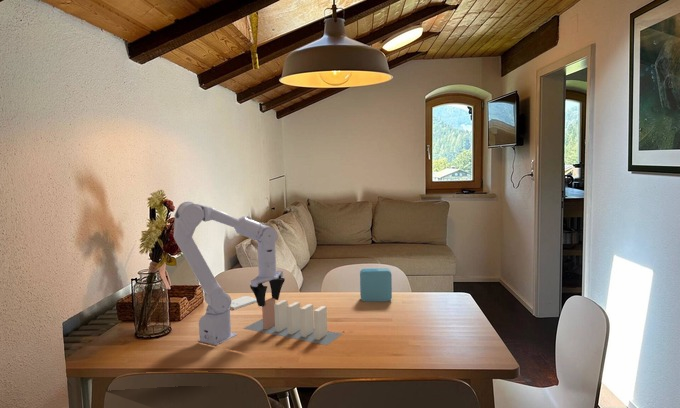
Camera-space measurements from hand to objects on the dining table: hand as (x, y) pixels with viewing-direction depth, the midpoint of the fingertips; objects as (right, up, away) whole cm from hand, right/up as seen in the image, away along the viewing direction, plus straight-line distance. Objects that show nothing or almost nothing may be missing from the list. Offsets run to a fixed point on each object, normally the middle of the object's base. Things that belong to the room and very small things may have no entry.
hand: (268, 302), depth 156 cm
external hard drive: (-15, -7, +28) cm, 33 cm away
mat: (+8, -9, -3) cm, 12 cm away
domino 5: (+18, -9, -9) cm, 22 cm away
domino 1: (0, -8, +1) cm, 8 cm away
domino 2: (+5, -8, -2) cm, 10 cm away
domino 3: (+9, -8, -4) cm, 13 cm away
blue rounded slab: (+38, -5, +29) cm, 48 cm away
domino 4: (+13, -9, -6) cm, 17 cm away
